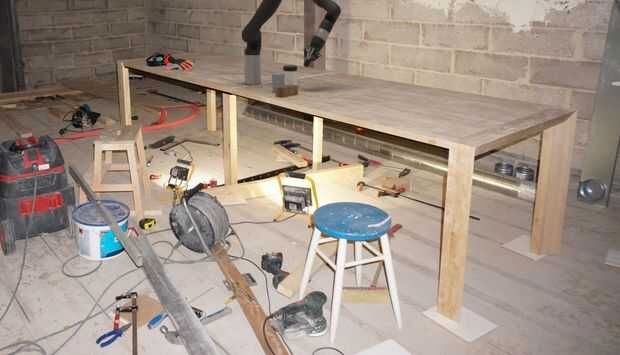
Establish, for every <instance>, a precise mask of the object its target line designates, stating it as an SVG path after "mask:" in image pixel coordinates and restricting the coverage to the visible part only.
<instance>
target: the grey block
mask: <svg viewBox="0 0 620 355" xmlns="http://www.w3.org/2000/svg"><path fill="white" fill-rule="evenodd" d="M284 85H285V73H283V72H274V73H271V88H272V89H271V90H272V91H271V92H272V93H275V87H278V86H284Z"/></svg>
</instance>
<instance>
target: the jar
mask: <svg viewBox="0 0 620 355" xmlns="http://www.w3.org/2000/svg"><path fill="white" fill-rule="evenodd" d="M282 68H283V69H282V73H285V85H290V84H294V85H298V86H299V70H298V65H294V64H287V65H286V64H285V65H283V66H282Z"/></svg>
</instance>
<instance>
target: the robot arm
mask: <svg viewBox="0 0 620 355" xmlns="http://www.w3.org/2000/svg"><path fill="white" fill-rule="evenodd" d="M311 1H312V2H313V3H314V4H315V5H316V6H317V7H319V8H320V9H323V10H324V11H326V14H325V15H324V18H323V19H322V21H321V23H320V24H319V25H318V28H317V29H316V30H315V33H314V35H313V37H312V38H311V40H310V43H309V44H310V45H309V46H308V47H307V48H303V54H304V55H303V57H304V58H305V60H304V62H303V66H304V67H305V68H308V67H309V66H310V64H311V62H315V61H316V60H318V59H319V58H320V57H322V53H321V50H323V48H324V46H326V43H327V41H328V38H330V37H329V36H330V34H331V33H332V30H333V28H334V26H335V24H336V23H337V21H338V19H339V17H340V15H341V12H342V8H341V6H339V4H338V3H337V2H336V1H334V0H311ZM281 3H282V0H262V1H261V2H260V4H259V6H258V8H257V10H256V11H255V12H254V14H253V16H252V18H250V21H249V22H248V23H247V24H246V25H245V27H244V28H243V29H242V30H241V40H242V41H243V42H244V43H246V47H245V49H244V50H243V51H244V67H243V72H244V73H243V74H244V84H245V83H246V84H245V85H247V84H248V86H249V85H250V86H258V85H261V84H262V70H261V68H262V67H261V65H262V64H261V50H262V31H261V29H262V27H263V26H264V24H266V23H267V21H269V20H270V19H271V18H272V17H273V15H274V14H276V11H277V10H278V8H279V7H280V6H281Z"/></svg>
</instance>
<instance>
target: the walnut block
mask: <svg viewBox="0 0 620 355" xmlns="http://www.w3.org/2000/svg"><path fill="white" fill-rule="evenodd" d="M298 95H299V84H298V85H294V84H290V85H284V86H278V87H275V92H274V96H275V97H277V98H286V97H293V96H298Z"/></svg>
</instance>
